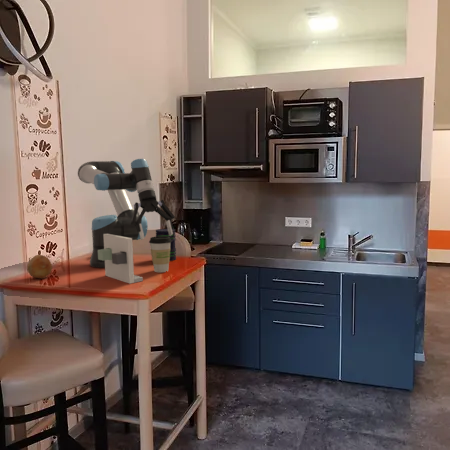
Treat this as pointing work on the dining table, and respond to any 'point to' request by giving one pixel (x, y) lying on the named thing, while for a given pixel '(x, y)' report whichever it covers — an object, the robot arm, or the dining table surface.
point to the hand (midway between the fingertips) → (157, 236)
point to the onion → (39, 266)
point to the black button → (119, 258)
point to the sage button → (105, 254)
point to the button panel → (122, 270)
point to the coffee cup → (160, 252)
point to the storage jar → (172, 245)
